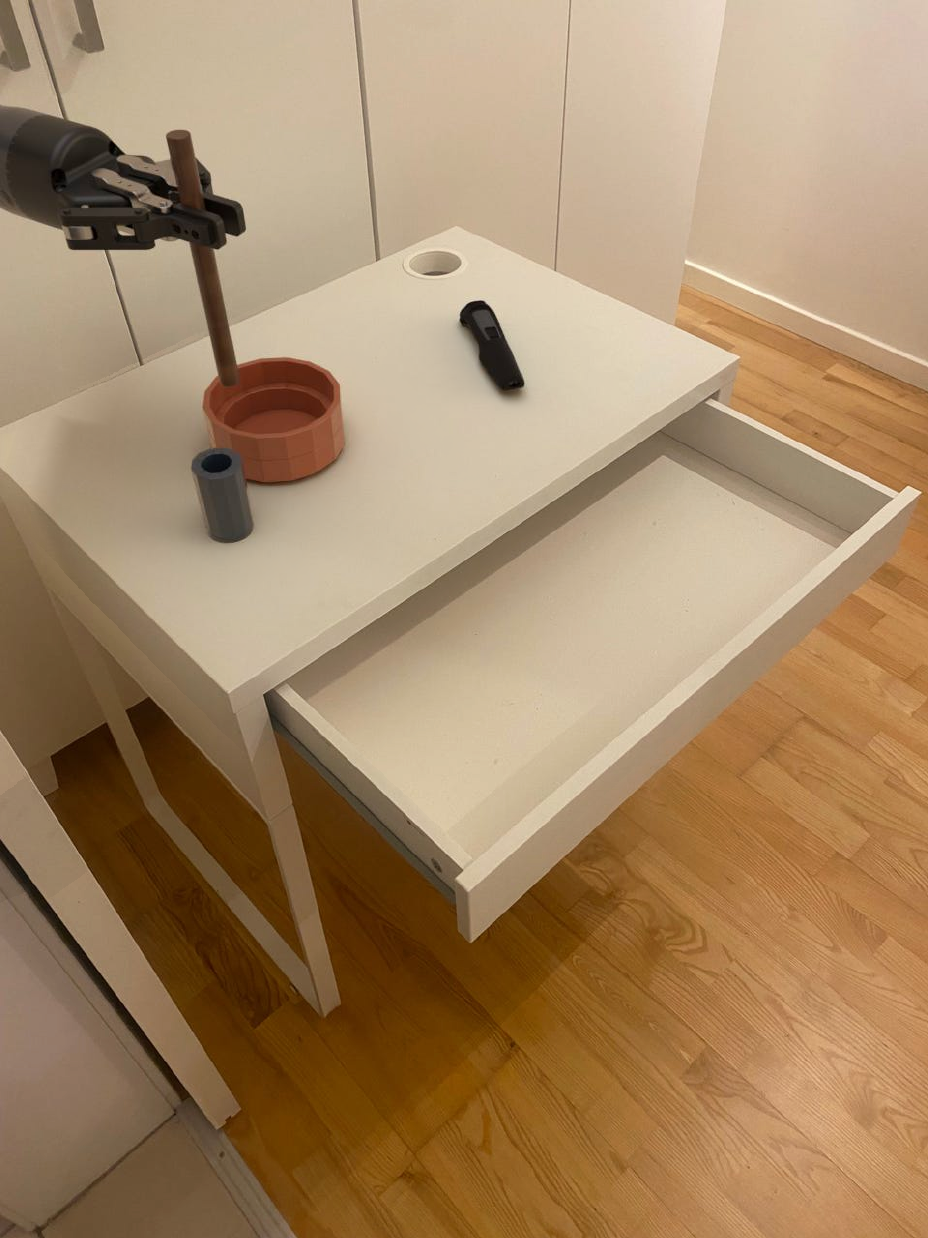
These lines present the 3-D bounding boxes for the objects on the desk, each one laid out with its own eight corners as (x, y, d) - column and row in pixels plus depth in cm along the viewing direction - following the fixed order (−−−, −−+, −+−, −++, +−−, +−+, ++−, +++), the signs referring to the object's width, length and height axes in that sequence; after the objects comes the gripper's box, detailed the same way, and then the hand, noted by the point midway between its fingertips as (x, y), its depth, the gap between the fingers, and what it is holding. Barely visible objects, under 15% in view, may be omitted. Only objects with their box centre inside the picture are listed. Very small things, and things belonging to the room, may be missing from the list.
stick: (219, 387, 76) (165, 139, 62) (219, 376, 77) (166, 129, 63) (239, 385, 77) (190, 137, 62) (239, 374, 78) (190, 128, 63)
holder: (205, 544, 81) (189, 480, 76) (208, 512, 84) (193, 448, 78) (253, 541, 81) (240, 477, 76) (255, 509, 84) (242, 445, 79)
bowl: (209, 490, 86) (198, 441, 82) (217, 409, 94) (207, 360, 90) (346, 482, 87) (341, 433, 83) (343, 402, 95) (338, 354, 91)
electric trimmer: (495, 405, 95) (496, 378, 93) (456, 320, 105) (457, 294, 103) (531, 400, 96) (533, 373, 94) (489, 316, 106) (491, 290, 103)
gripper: (-48, 151, 64) (153, 213, 59) (96, 85, 72) (284, 135, 67) (-9, 256, 70) (178, 322, 65) (120, 184, 78) (296, 237, 73)
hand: (231, 226), depth 66 cm, fingers closed on stick, 1 cm apart
